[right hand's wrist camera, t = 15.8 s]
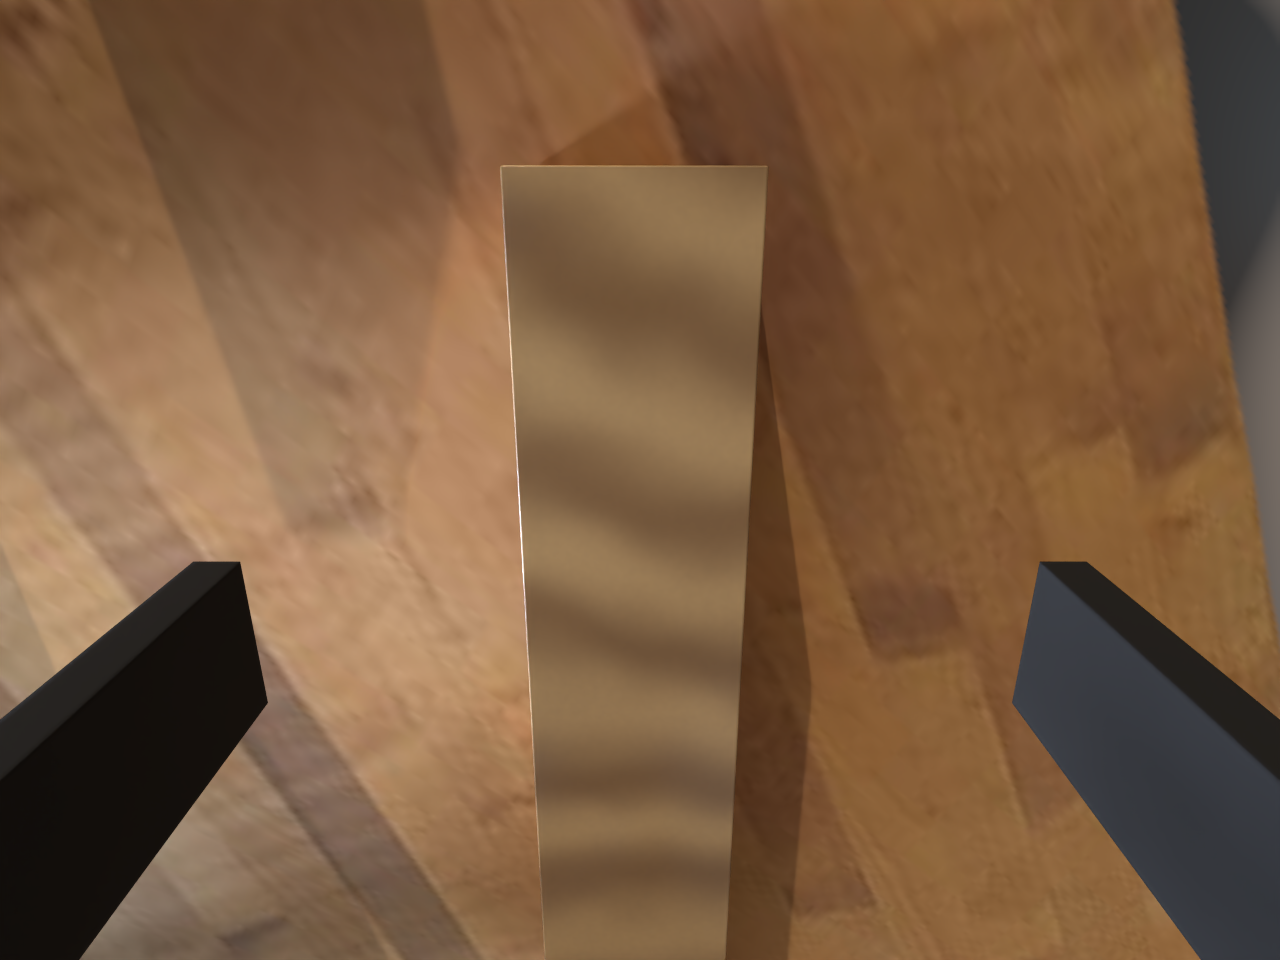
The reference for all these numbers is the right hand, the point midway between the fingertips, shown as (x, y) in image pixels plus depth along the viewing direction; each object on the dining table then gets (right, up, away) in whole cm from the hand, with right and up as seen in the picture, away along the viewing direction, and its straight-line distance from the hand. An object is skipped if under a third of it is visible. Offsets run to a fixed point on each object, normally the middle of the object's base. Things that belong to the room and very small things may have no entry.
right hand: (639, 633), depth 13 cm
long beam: (0, -22, +35) cm, 41 cm away
